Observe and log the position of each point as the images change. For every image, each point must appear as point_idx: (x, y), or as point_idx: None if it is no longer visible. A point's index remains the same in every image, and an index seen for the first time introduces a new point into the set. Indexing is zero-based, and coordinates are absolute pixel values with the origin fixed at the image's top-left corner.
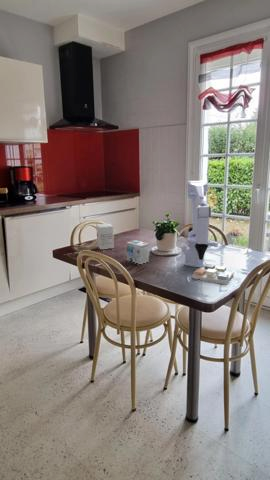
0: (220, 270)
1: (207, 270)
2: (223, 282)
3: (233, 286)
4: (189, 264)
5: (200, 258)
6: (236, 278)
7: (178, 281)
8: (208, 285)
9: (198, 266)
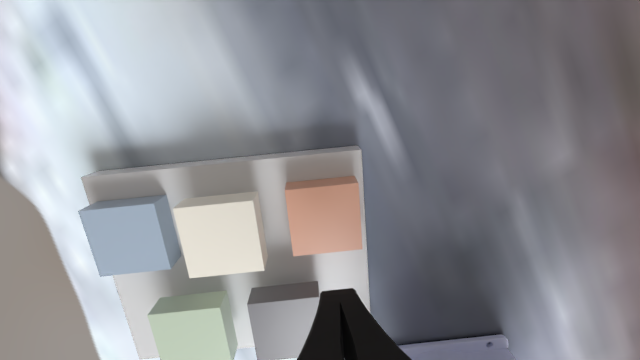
0: (182, 302)
1: (247, 221)
2: (109, 171)
3: (40, 169)
4: (472, 350)
5: (337, 295)
6: (107, 306)
7: (423, 24)
8: (190, 83)
9: (403, 349)
